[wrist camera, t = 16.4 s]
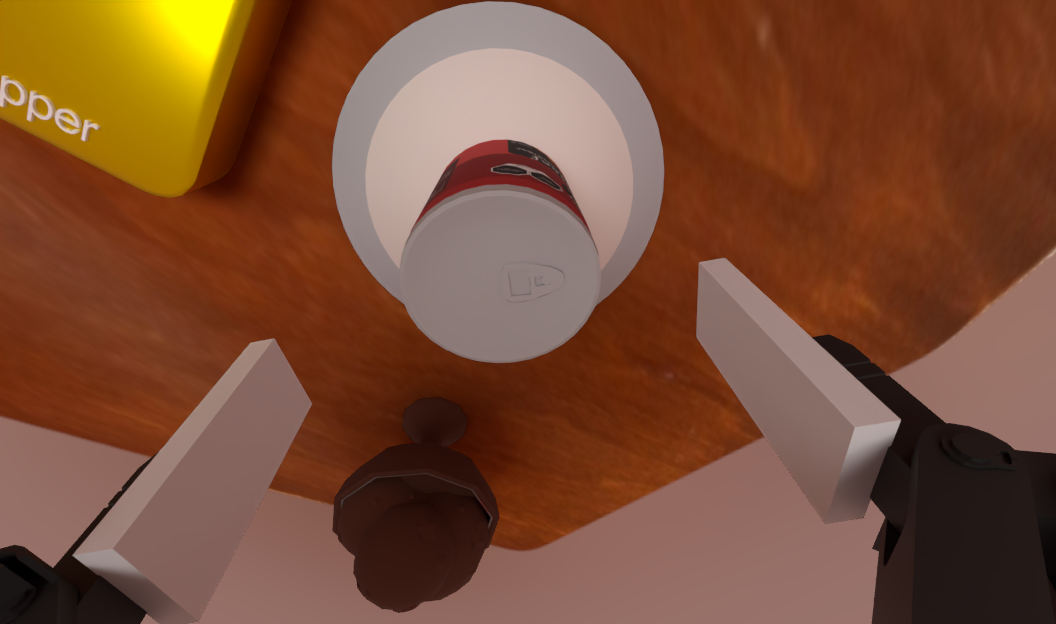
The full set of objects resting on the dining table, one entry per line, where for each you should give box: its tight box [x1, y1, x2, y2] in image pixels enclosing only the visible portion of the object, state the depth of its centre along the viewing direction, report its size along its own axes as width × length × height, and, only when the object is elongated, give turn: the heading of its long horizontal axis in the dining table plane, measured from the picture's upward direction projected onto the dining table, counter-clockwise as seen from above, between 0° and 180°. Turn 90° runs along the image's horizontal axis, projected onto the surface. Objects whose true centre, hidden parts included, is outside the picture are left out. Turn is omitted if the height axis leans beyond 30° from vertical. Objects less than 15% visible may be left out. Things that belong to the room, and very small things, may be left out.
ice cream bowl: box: [333, 398, 499, 613], centre depth 31 cm, size 11×11×15 cm
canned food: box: [399, 139, 601, 363], centre depth 22 cm, size 8×8×11 cm
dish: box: [332, 1, 664, 306], centre depth 27 cm, size 20×20×2 cm
